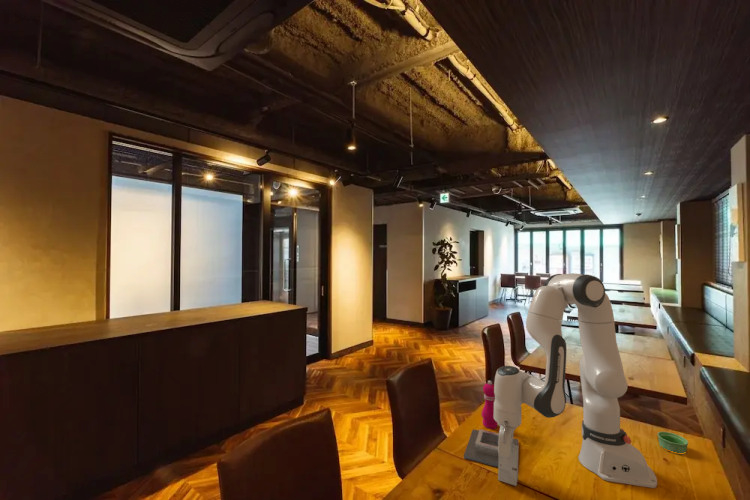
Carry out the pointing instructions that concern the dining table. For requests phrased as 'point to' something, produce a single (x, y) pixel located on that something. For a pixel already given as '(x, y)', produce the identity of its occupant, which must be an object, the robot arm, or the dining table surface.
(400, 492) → the dining table surface
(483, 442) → the ring block
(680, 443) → the ramekin
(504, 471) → the skincare box
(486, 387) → the pepper mill
